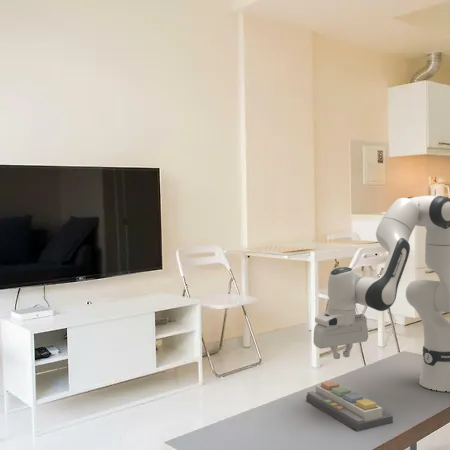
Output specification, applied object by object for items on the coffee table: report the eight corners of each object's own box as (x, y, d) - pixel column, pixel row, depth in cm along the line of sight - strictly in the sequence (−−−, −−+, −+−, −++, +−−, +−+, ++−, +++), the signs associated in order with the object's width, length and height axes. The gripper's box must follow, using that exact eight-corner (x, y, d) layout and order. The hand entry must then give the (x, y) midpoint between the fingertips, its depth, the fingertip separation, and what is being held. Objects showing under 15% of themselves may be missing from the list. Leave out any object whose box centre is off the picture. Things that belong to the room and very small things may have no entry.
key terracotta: (331, 387, 189) (331, 380, 189) (339, 391, 185) (339, 384, 185) (321, 389, 187) (321, 382, 187) (328, 393, 183) (328, 386, 183)
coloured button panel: (339, 394, 193) (339, 380, 193) (392, 422, 169) (392, 406, 169) (306, 400, 187) (306, 386, 187) (357, 431, 163) (357, 415, 163)
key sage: (342, 393, 184) (342, 386, 184) (350, 397, 180) (350, 390, 180) (332, 395, 182) (332, 388, 182) (340, 400, 178) (340, 392, 178)
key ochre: (366, 406, 173) (366, 398, 172) (376, 411, 169) (376, 403, 168) (355, 408, 171) (355, 400, 171) (365, 413, 167) (365, 405, 167)
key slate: (354, 399, 178) (354, 392, 178) (363, 404, 174) (363, 396, 174) (343, 401, 176) (343, 394, 176) (352, 406, 172) (352, 398, 172)
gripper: (360, 311, 187) (360, 350, 187) (310, 318, 178) (310, 359, 179) (372, 315, 181) (372, 355, 182) (322, 322, 172) (322, 364, 173)
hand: (341, 357), depth 180 cm, fingers open, 3 cm apart
